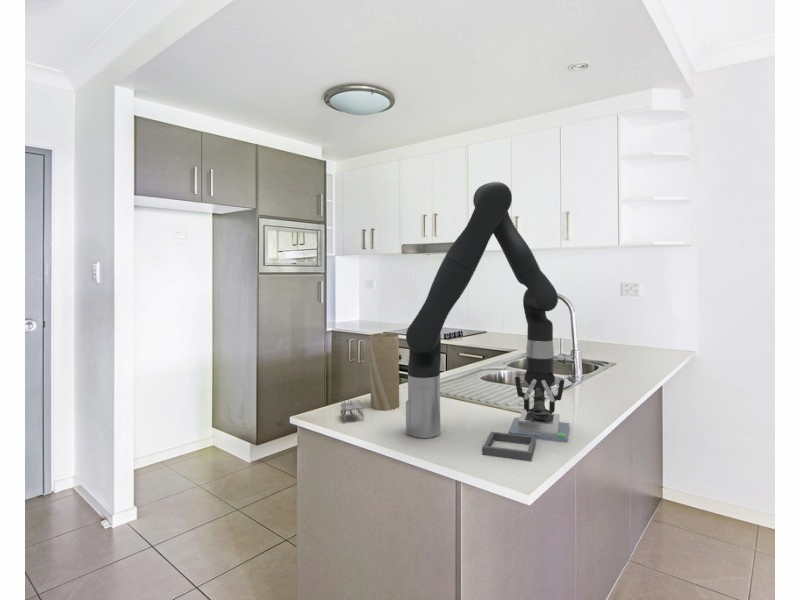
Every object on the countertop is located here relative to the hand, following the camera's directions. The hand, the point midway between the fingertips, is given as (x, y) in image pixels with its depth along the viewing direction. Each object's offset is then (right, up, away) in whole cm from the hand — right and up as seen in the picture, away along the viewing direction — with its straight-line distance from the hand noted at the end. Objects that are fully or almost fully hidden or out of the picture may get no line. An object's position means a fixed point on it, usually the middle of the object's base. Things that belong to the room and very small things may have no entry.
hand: (539, 412), depth 136 cm
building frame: (-56, -6, +14) cm, 58 cm away
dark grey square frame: (-12, -7, -13) cm, 19 cm away
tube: (-46, -5, +27) cm, 53 cm away
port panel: (0, -5, 0) cm, 6 cm away
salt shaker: (0, -3, 0) cm, 3 cm away
